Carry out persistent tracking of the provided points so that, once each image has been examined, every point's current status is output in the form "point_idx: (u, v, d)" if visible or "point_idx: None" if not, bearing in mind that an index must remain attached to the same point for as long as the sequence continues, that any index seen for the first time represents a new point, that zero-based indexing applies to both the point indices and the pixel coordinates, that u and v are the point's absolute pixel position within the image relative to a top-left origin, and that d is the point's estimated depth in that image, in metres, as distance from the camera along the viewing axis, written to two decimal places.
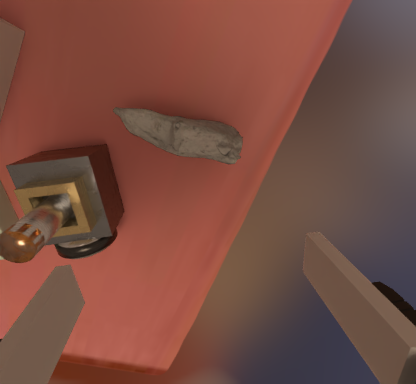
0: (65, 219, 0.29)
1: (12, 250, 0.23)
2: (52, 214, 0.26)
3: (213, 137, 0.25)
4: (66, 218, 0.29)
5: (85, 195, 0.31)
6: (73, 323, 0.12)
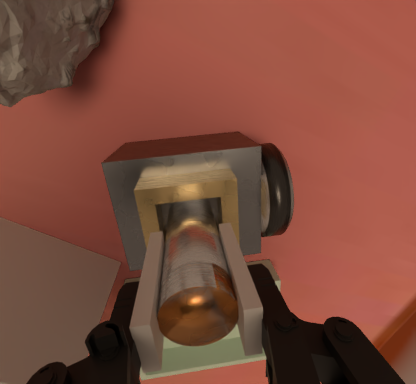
0: (200, 215, 0.16)
1: (206, 323, 0.10)
2: (175, 235, 0.14)
3: None
4: (200, 213, 0.16)
5: (171, 177, 0.18)
6: None
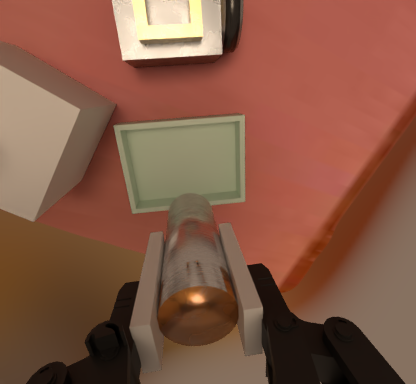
0: (200, 214, 0.16)
1: (206, 322, 0.10)
2: (174, 234, 0.14)
3: None
4: (199, 213, 0.16)
5: None
6: None
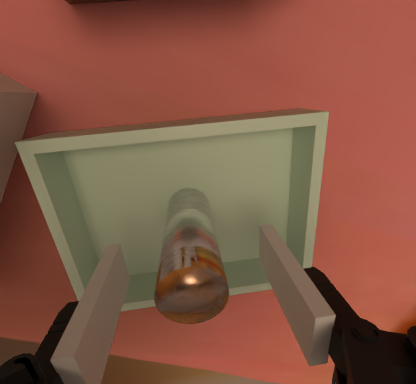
0: (196, 207, 0.17)
1: (199, 301, 0.11)
2: (172, 224, 0.15)
3: None
4: (196, 205, 0.17)
5: None
6: (123, 295, 0.14)
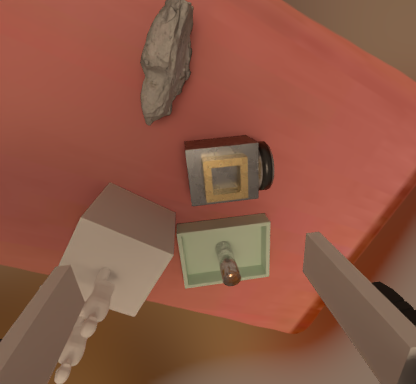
0: (228, 250, 0.50)
1: (233, 280, 0.45)
2: (222, 258, 0.49)
3: (157, 26, 0.27)
4: (228, 250, 0.51)
5: (216, 157, 0.38)
6: (73, 323, 0.12)
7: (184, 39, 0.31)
